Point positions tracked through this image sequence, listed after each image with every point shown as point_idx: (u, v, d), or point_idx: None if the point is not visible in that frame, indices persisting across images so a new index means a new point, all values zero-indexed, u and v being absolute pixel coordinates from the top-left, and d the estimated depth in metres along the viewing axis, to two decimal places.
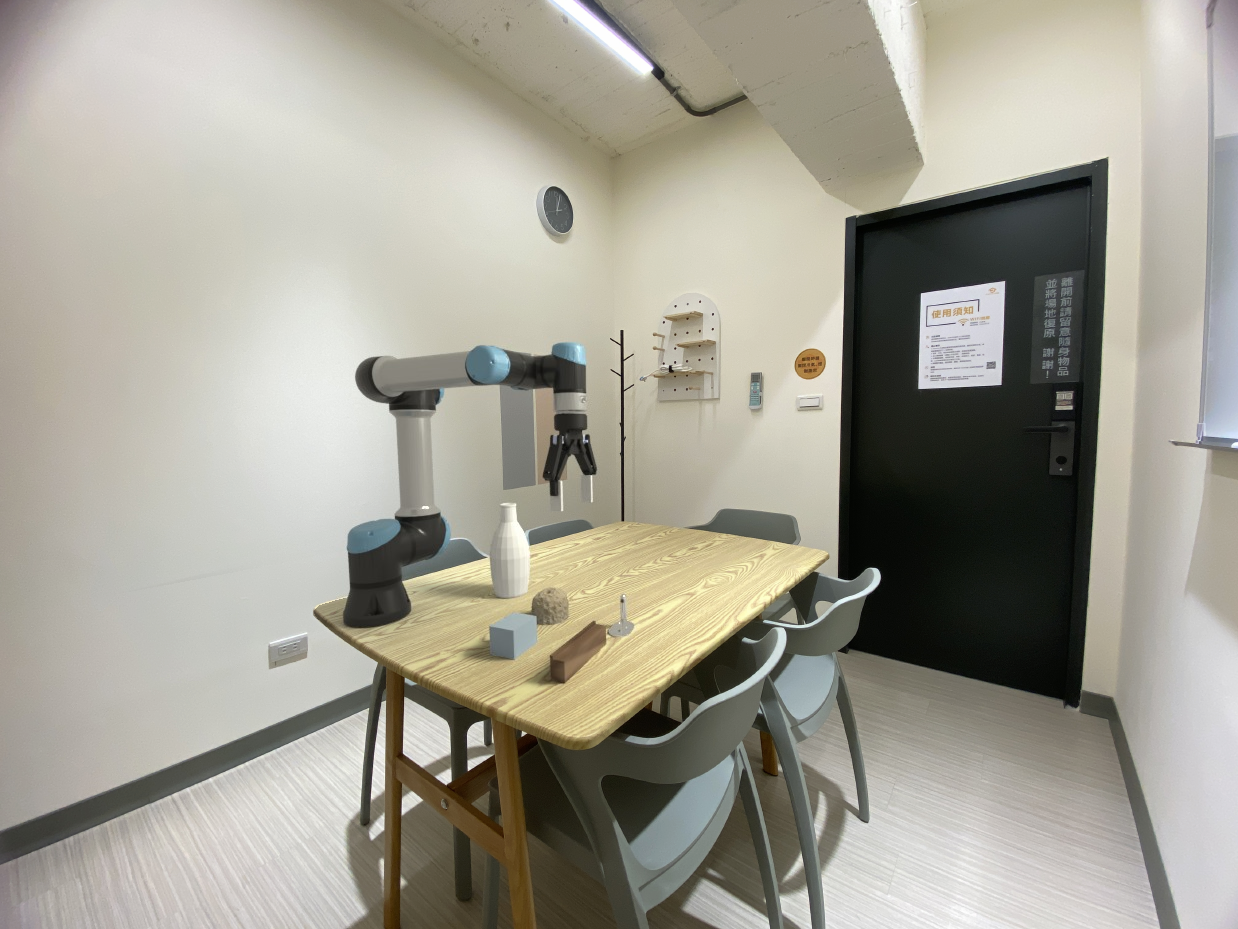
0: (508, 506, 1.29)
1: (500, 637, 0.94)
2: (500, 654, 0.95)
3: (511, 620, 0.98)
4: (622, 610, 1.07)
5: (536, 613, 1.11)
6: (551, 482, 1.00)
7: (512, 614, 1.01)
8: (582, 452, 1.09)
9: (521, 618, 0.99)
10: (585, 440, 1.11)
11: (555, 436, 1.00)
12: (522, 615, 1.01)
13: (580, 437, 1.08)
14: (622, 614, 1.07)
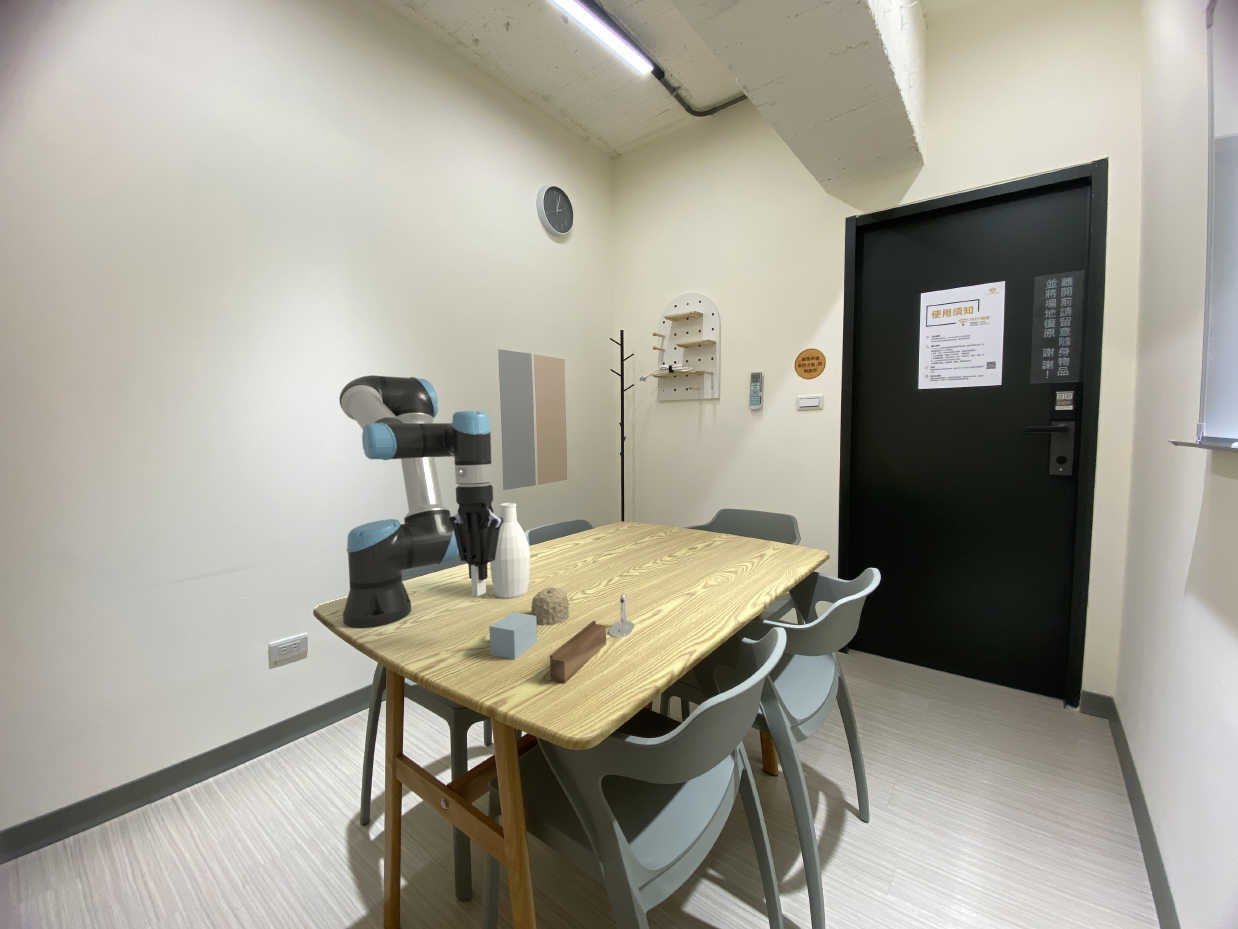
0: (508, 506, 1.29)
1: (501, 637, 0.94)
2: (500, 654, 0.95)
3: (511, 620, 0.98)
4: (622, 610, 1.07)
5: (536, 613, 1.11)
6: None
7: (511, 614, 1.01)
8: None
9: (521, 618, 0.99)
10: (490, 522, 0.97)
11: None
12: (521, 615, 1.01)
13: (481, 509, 0.98)
14: (622, 614, 1.07)
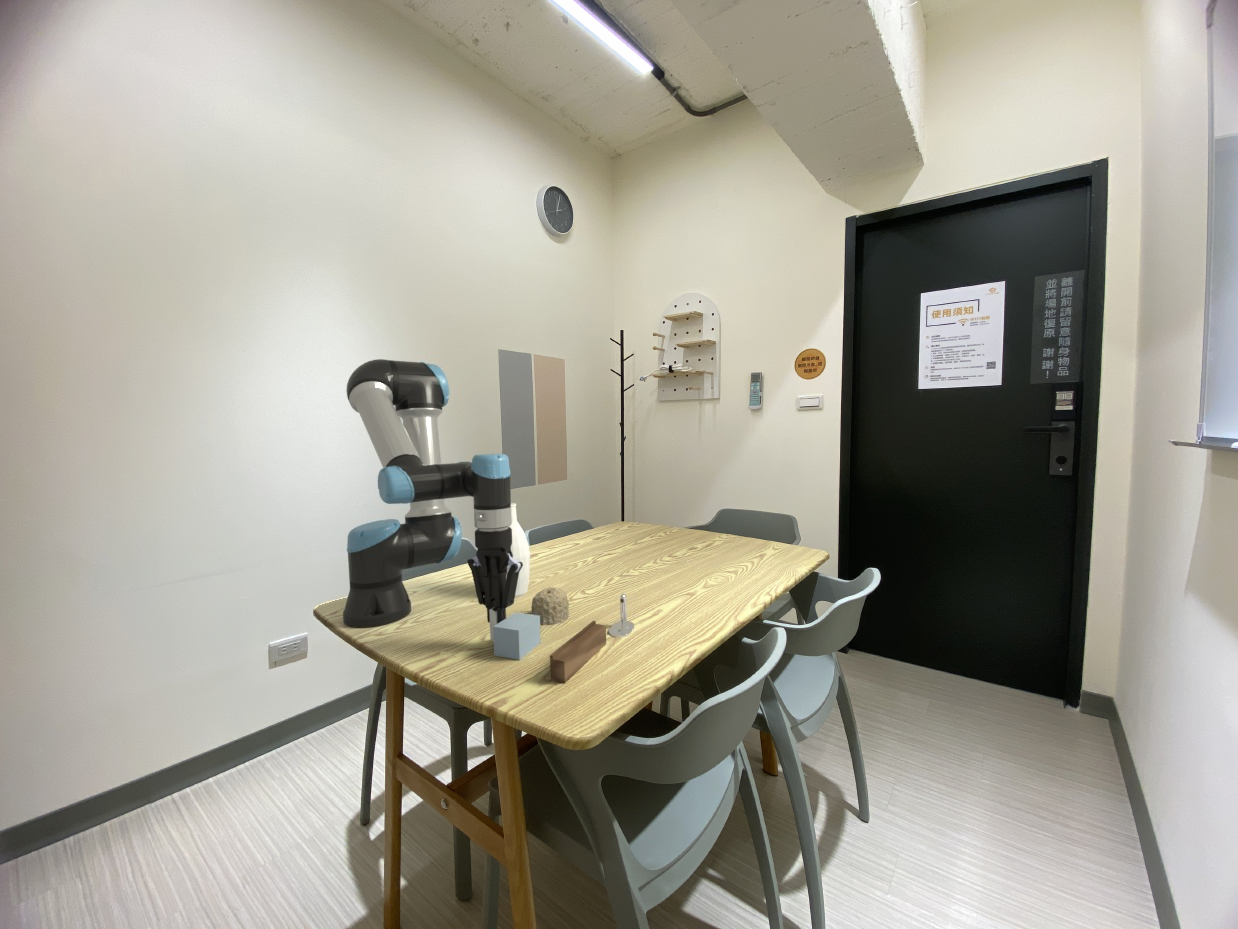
0: None
1: (505, 637, 0.94)
2: (505, 654, 0.94)
3: (515, 620, 0.98)
4: (622, 610, 1.07)
5: (536, 613, 1.11)
6: None
7: (514, 614, 1.01)
8: None
9: (524, 618, 0.99)
10: (509, 566, 0.96)
11: None
12: (524, 615, 1.00)
13: (501, 554, 0.96)
14: (622, 614, 1.07)
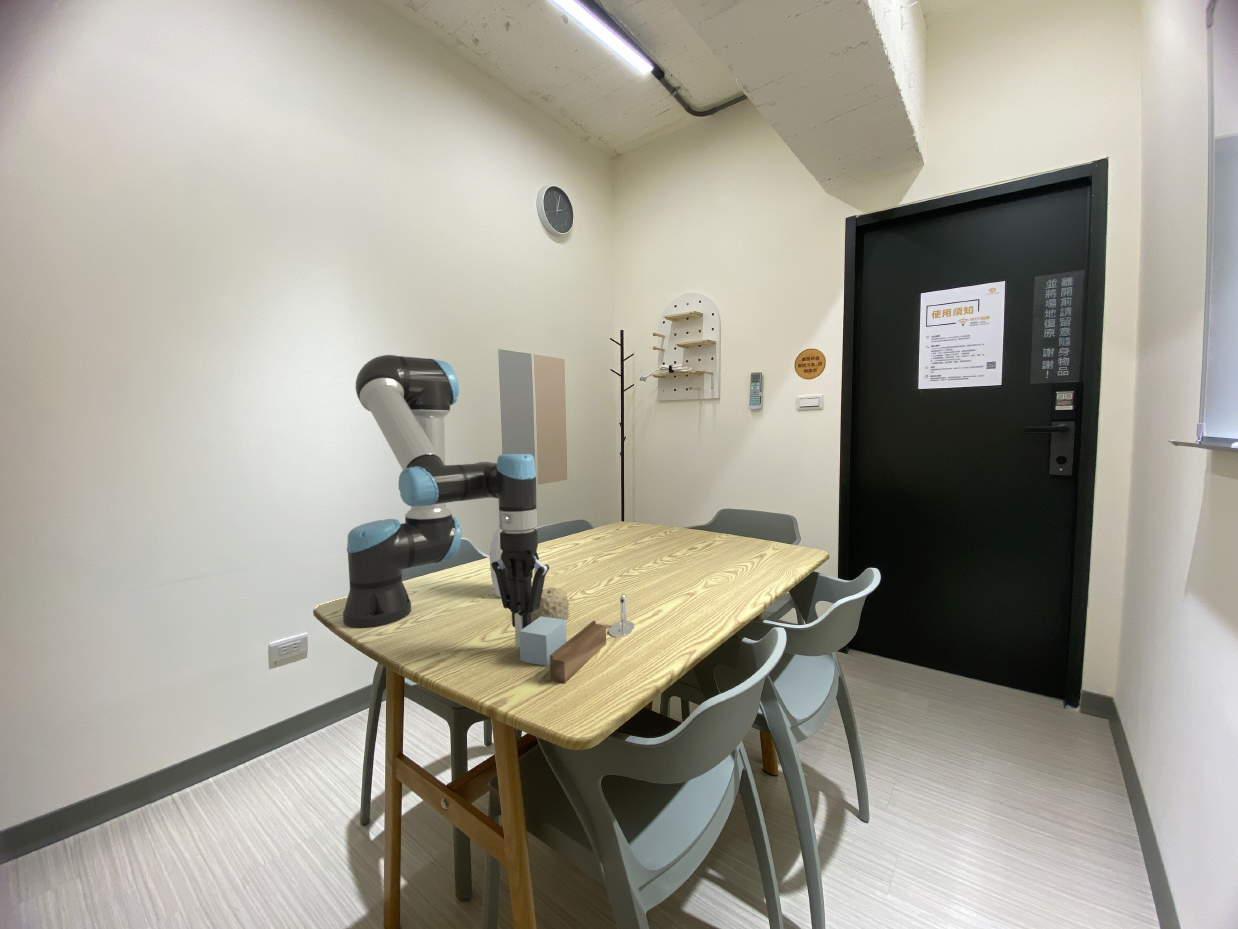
0: None
1: (532, 642, 0.91)
2: (531, 660, 0.92)
3: (541, 624, 0.95)
4: (622, 610, 1.07)
5: (536, 613, 1.11)
6: None
7: (540, 618, 0.98)
8: None
9: (551, 623, 0.96)
10: (536, 570, 0.93)
11: None
12: (550, 619, 0.98)
13: (527, 557, 0.94)
14: (622, 614, 1.07)
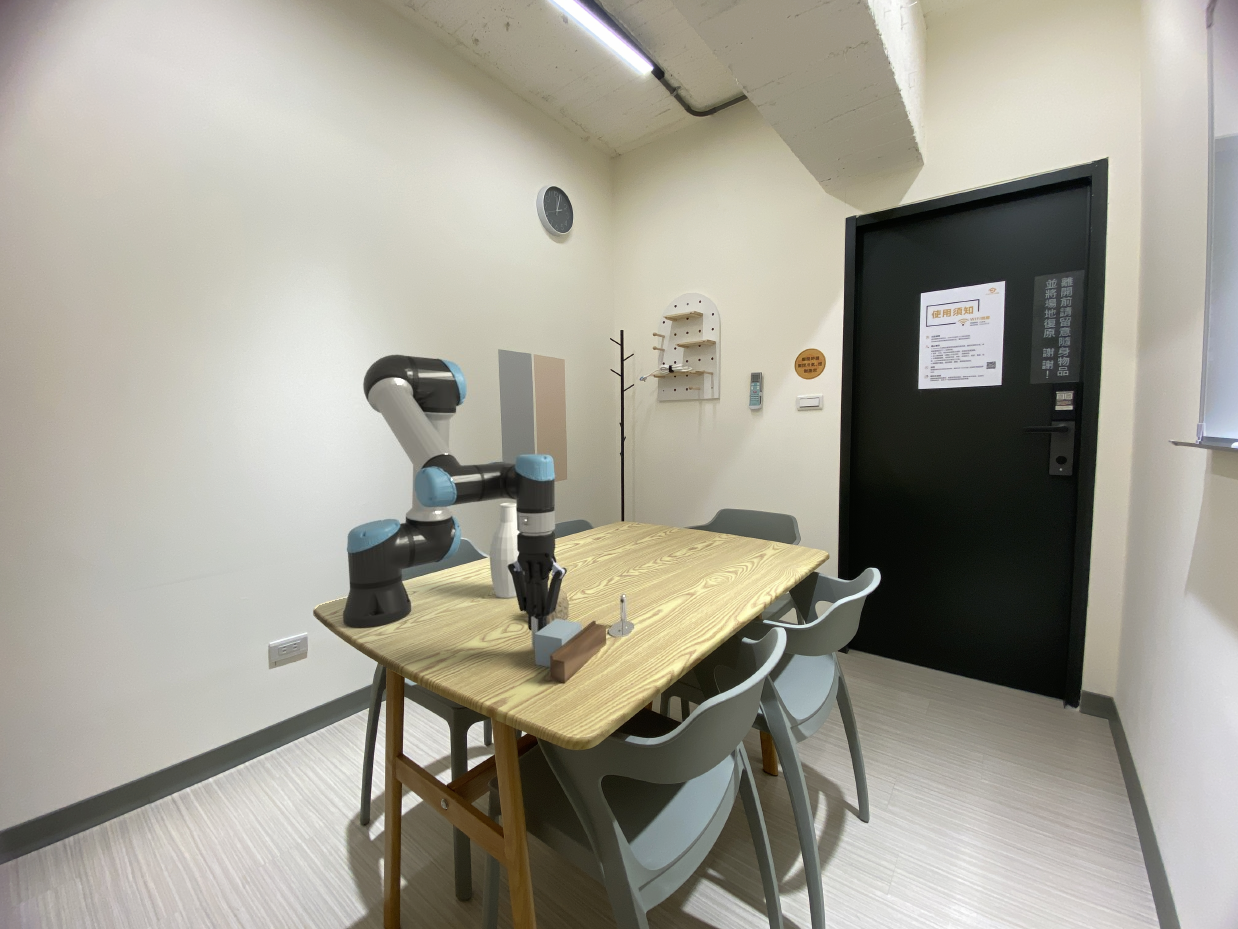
0: (508, 506, 1.29)
1: (547, 645, 0.90)
2: (547, 663, 0.90)
3: (556, 627, 0.94)
4: (622, 610, 1.07)
5: None
6: None
7: (555, 621, 0.97)
8: None
9: (566, 625, 0.94)
10: (553, 573, 0.92)
11: None
12: (565, 622, 0.96)
13: (544, 559, 0.92)
14: (622, 614, 1.07)
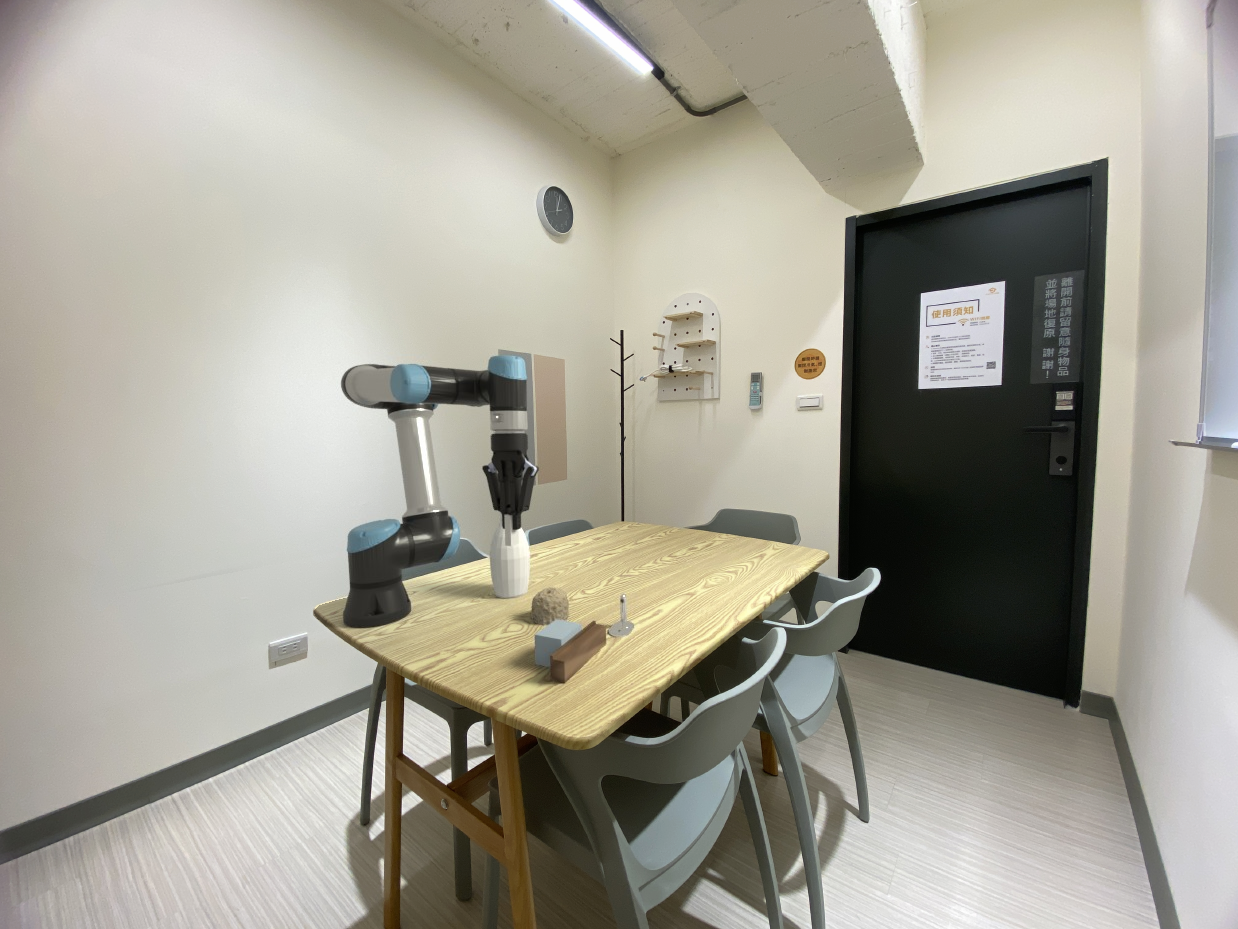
0: None
1: (547, 646, 0.90)
2: (546, 664, 0.90)
3: (556, 628, 0.94)
4: (622, 610, 1.07)
5: (536, 613, 1.11)
6: None
7: (555, 621, 0.97)
8: None
9: (566, 626, 0.94)
10: (526, 470, 0.95)
11: None
12: (566, 622, 0.96)
13: (517, 457, 0.96)
14: (622, 614, 1.07)
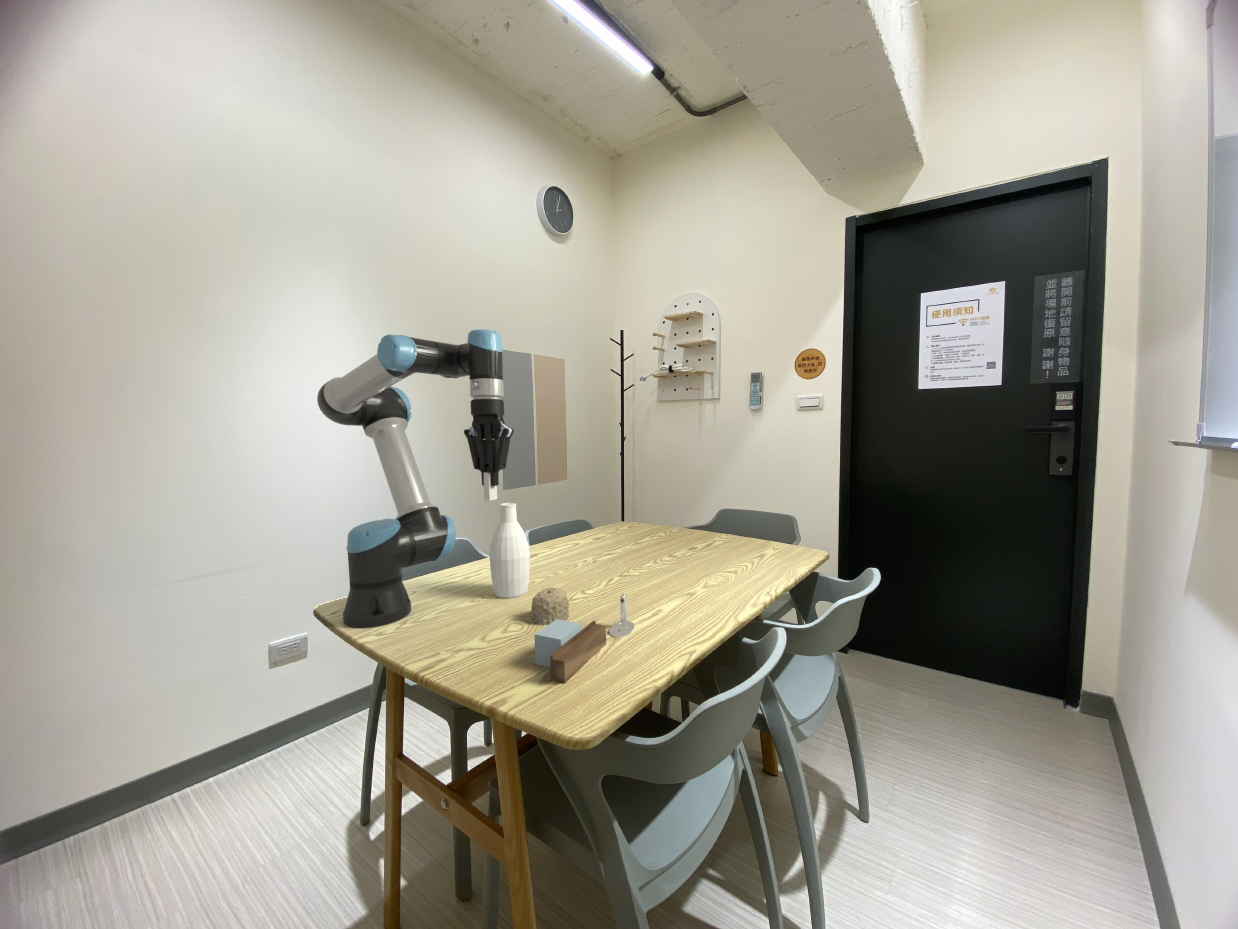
0: (508, 506, 1.29)
1: (547, 646, 0.90)
2: (546, 664, 0.90)
3: (556, 628, 0.94)
4: (622, 610, 1.07)
5: (536, 613, 1.11)
6: None
7: (555, 621, 0.97)
8: None
9: (566, 626, 0.94)
10: None
11: None
12: (566, 622, 0.96)
13: (494, 420, 1.07)
14: (622, 614, 1.07)
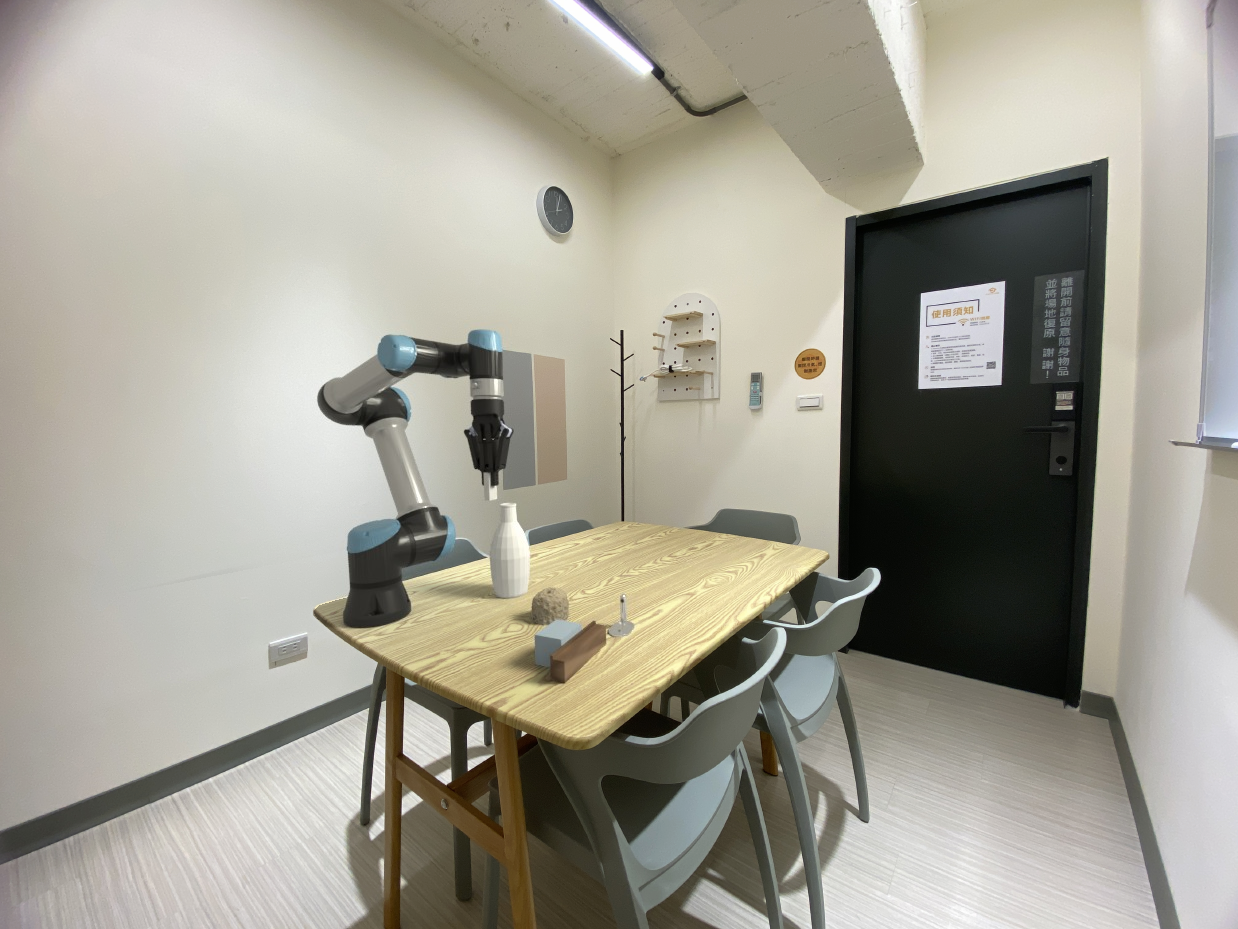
0: (508, 506, 1.29)
1: (547, 646, 0.90)
2: (546, 664, 0.90)
3: (556, 628, 0.94)
4: (622, 610, 1.07)
5: (536, 613, 1.11)
6: None
7: (555, 621, 0.97)
8: None
9: (566, 626, 0.94)
10: None
11: None
12: (566, 622, 0.96)
13: (494, 420, 1.07)
14: (622, 614, 1.07)
